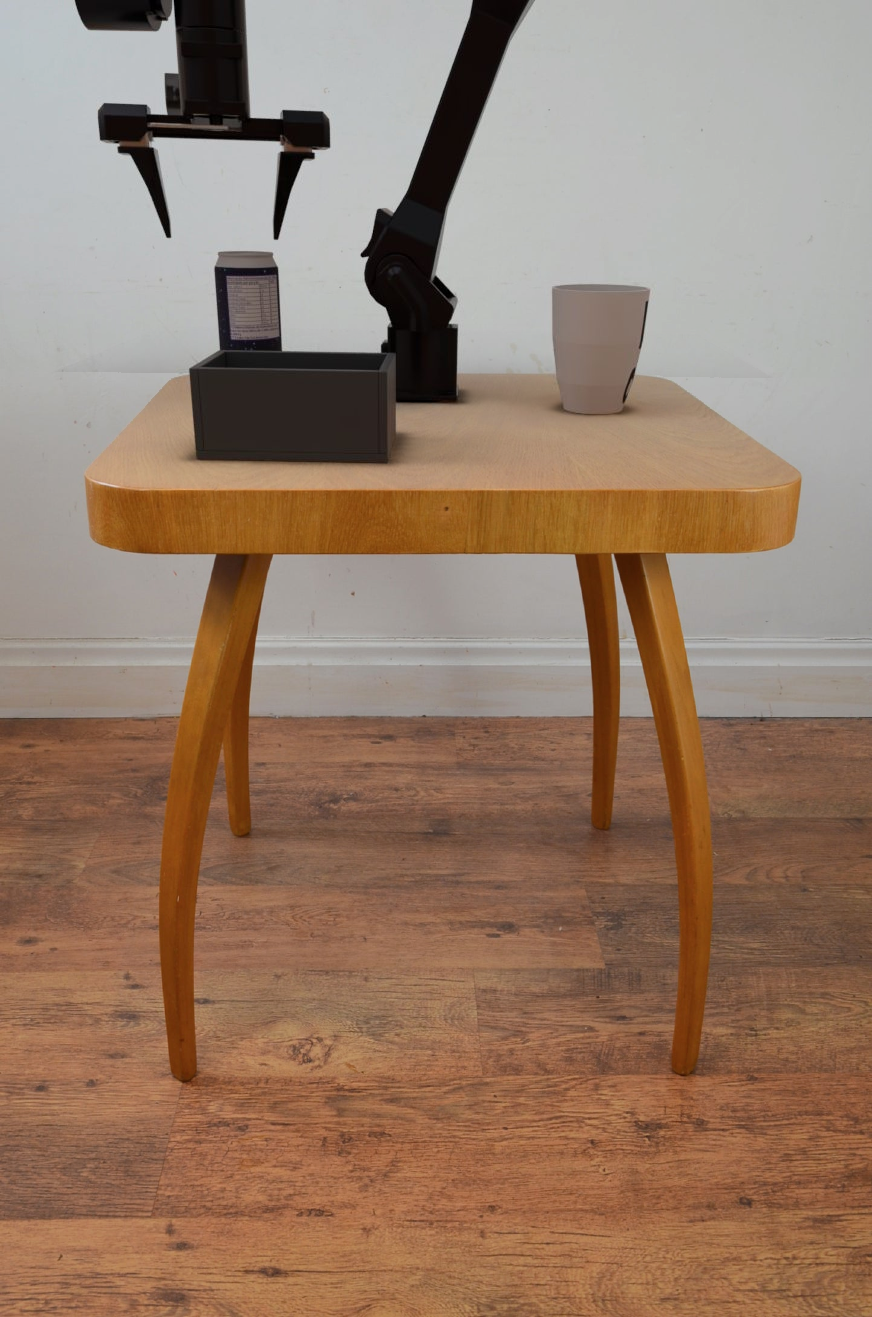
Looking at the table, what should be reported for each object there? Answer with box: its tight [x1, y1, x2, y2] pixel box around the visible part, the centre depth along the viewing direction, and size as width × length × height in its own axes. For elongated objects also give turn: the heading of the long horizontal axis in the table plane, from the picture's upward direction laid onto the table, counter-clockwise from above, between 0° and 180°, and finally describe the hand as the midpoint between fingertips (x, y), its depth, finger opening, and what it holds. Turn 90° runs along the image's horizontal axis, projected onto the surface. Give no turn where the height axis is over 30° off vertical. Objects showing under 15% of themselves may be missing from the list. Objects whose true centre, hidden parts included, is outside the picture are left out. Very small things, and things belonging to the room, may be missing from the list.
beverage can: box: [213, 250, 283, 351], centre depth 95 cm, size 6×6×12 cm
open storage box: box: [188, 349, 397, 464], centre depth 74 cm, size 13×9×6 cm
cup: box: [551, 283, 651, 415], centre depth 89 cm, size 8×8×10 cm
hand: (222, 238), depth 91 cm, fingers open, 9 cm apart
